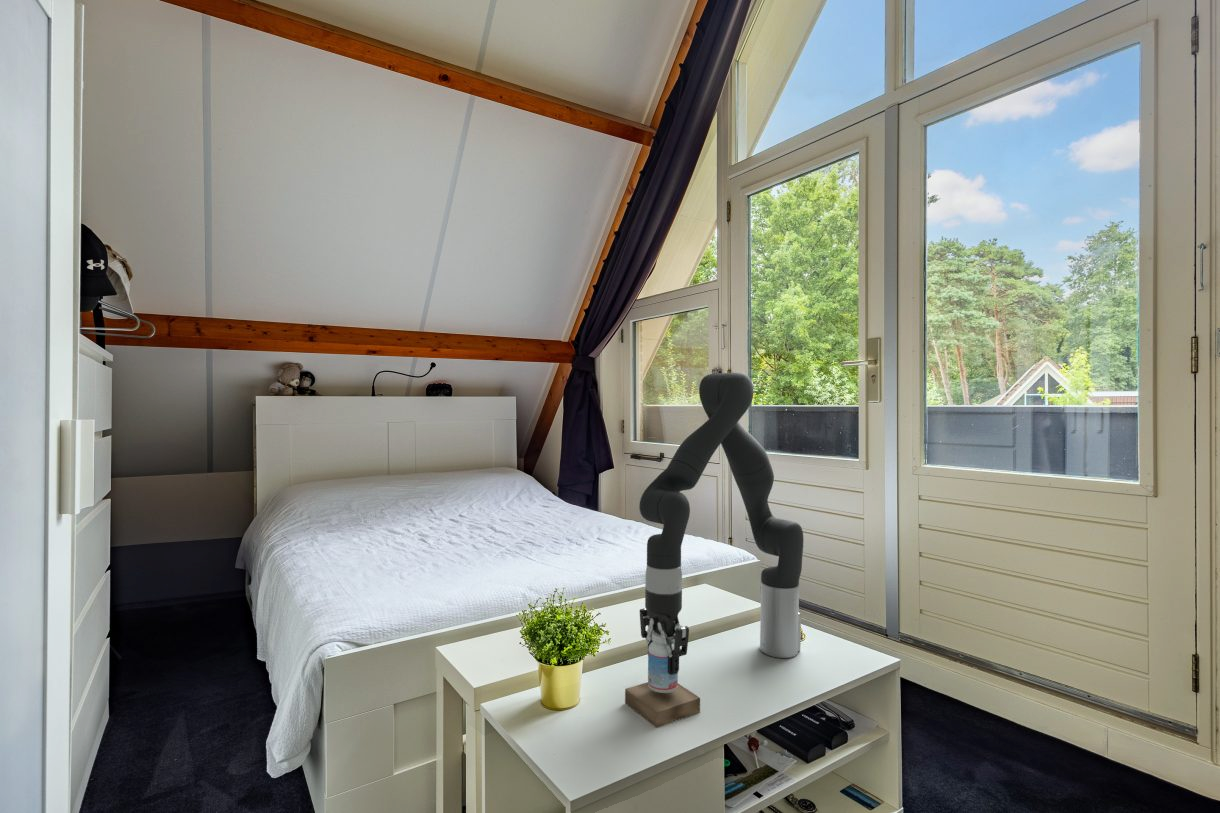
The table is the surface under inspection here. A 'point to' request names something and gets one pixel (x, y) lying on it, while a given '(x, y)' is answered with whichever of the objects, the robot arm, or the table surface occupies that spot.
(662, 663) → the pill bottle
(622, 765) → the table surface
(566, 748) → the table surface
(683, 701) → the walnut stand
